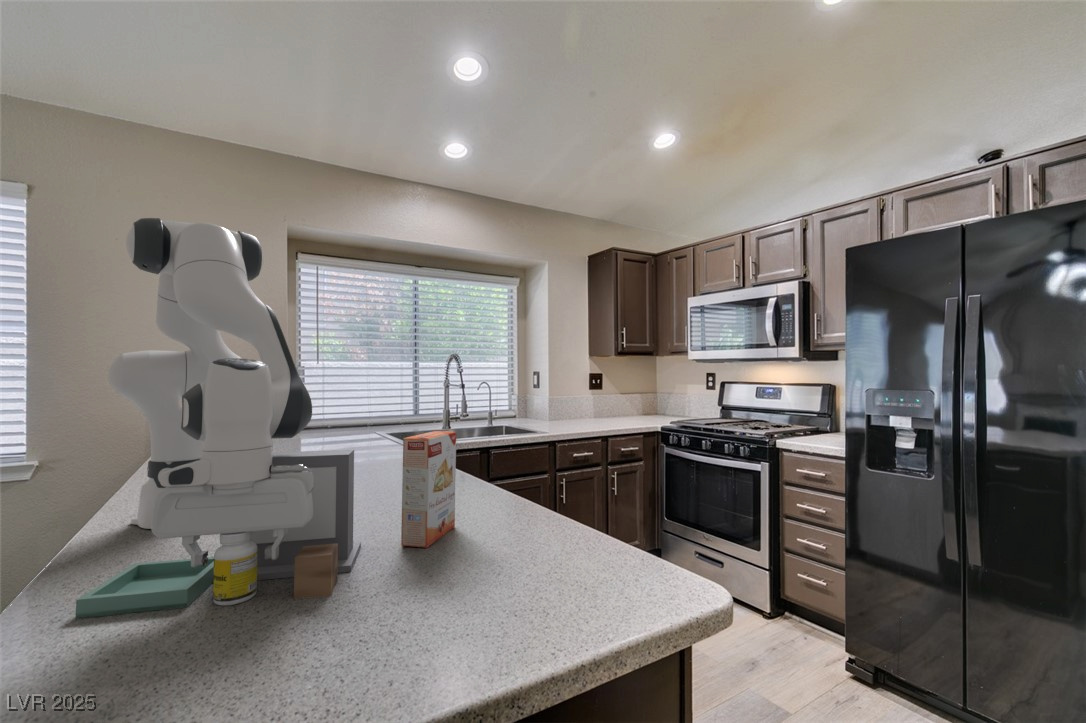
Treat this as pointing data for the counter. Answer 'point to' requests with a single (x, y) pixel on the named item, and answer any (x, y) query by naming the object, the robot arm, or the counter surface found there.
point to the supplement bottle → (235, 569)
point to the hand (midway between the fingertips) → (236, 562)
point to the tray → (147, 588)
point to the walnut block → (315, 571)
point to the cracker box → (428, 487)
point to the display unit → (316, 514)
